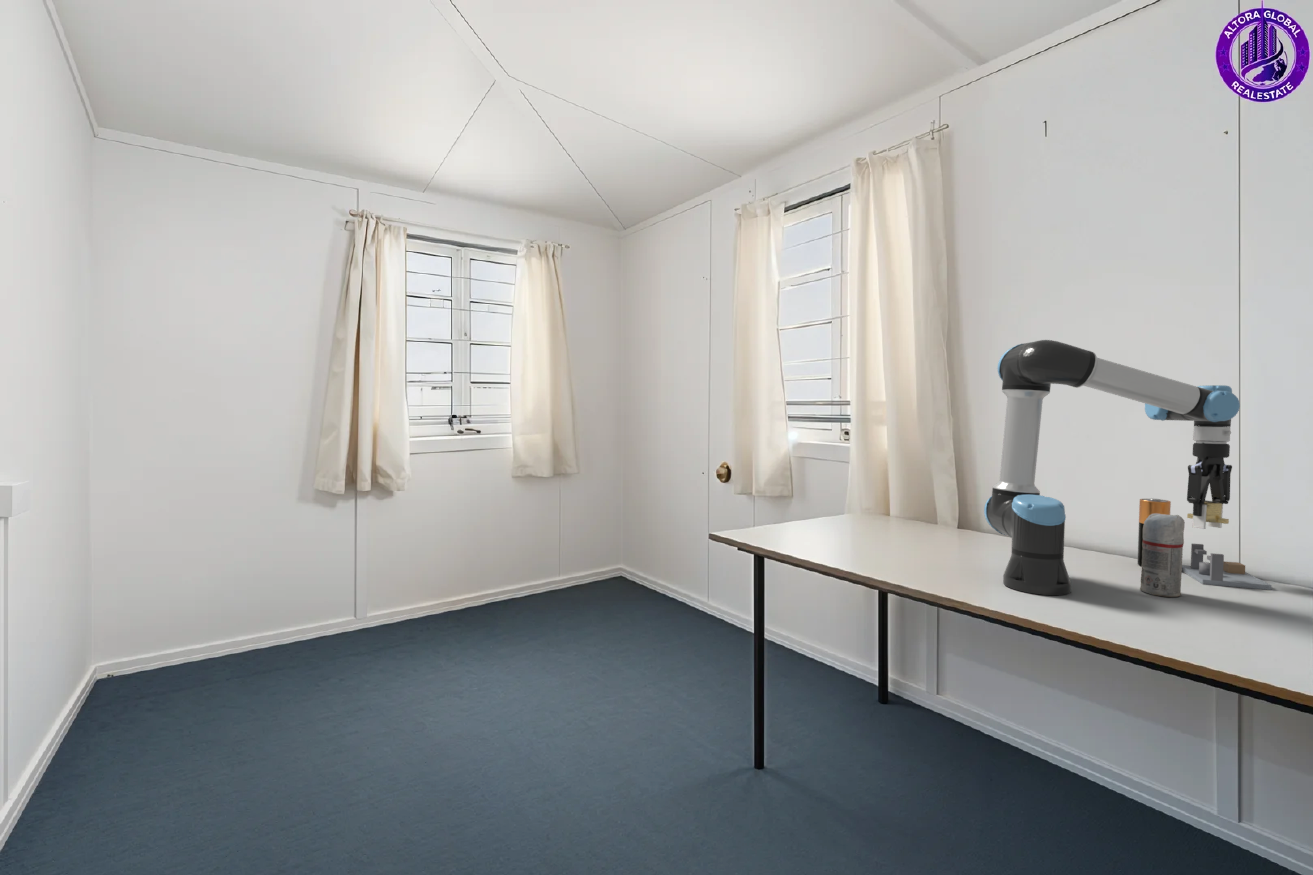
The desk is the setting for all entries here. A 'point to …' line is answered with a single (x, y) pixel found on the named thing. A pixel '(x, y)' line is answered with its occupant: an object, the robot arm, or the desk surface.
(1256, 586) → the base
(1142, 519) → the battery
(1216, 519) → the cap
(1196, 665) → the desk surface
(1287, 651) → the desk surface
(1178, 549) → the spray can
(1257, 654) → the desk surface
